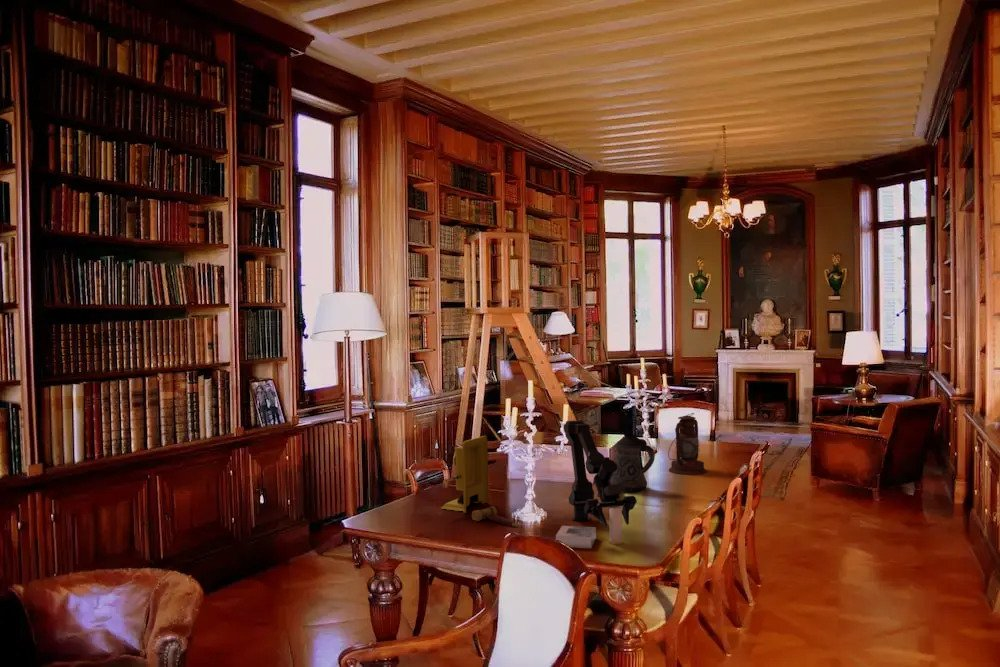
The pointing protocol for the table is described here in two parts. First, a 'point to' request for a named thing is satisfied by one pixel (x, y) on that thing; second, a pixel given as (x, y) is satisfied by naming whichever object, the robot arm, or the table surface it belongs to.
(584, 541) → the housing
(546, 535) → the table surface
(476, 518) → the gavel
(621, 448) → the beer stein
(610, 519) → the white tall rounded piece
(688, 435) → the lantern
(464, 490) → the olive upright panel stand
